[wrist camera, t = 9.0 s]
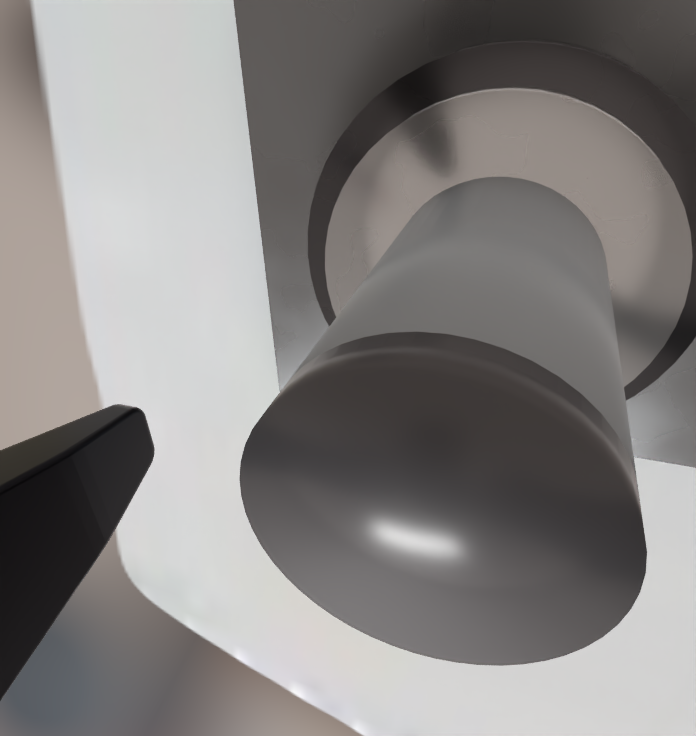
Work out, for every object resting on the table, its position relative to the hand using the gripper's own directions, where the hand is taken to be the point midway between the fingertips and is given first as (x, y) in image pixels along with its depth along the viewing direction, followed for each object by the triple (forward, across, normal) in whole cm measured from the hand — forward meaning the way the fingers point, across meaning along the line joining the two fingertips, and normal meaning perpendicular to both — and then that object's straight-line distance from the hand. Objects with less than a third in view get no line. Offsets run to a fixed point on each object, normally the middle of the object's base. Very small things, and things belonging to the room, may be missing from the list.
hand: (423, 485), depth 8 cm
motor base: (+10, 0, 0) cm, 10 cm away
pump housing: (+7, 0, 0) cm, 7 cm away
